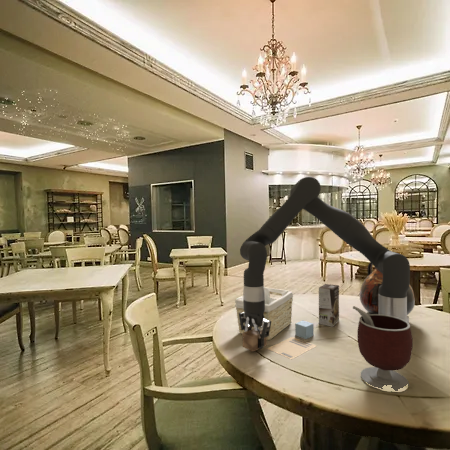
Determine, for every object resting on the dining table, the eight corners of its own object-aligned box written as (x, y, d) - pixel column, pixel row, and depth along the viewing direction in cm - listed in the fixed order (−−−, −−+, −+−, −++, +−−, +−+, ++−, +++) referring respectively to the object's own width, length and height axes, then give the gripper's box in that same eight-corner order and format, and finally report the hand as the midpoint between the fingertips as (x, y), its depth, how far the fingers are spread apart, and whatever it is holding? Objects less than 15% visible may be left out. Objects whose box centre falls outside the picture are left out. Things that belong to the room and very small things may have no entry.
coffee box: (333, 327, 126) (333, 289, 126) (318, 324, 130) (317, 287, 129) (339, 320, 133) (339, 285, 133) (325, 317, 137) (325, 283, 137)
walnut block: (266, 345, 106) (266, 331, 106) (252, 351, 101) (252, 337, 101) (256, 341, 110) (256, 327, 109) (242, 346, 105) (242, 332, 105)
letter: (317, 346, 109) (317, 345, 109) (291, 359, 99) (291, 359, 99) (292, 336, 117) (292, 336, 117) (266, 348, 107) (266, 348, 107)
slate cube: (313, 336, 118) (313, 323, 118) (306, 339, 114) (306, 326, 114) (302, 332, 122) (302, 320, 121) (295, 335, 118) (295, 323, 118)
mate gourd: (416, 378, 86) (416, 310, 86) (406, 401, 76) (406, 324, 75) (360, 361, 97) (360, 300, 96) (345, 379, 86) (344, 311, 86)
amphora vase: (426, 324, 126) (427, 259, 125) (390, 333, 118) (389, 263, 117) (383, 310, 146) (382, 253, 145) (349, 316, 138) (348, 256, 137)
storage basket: (269, 343, 112) (268, 304, 111) (233, 334, 121) (232, 298, 121) (294, 323, 131) (294, 290, 131) (262, 317, 141) (261, 286, 140)
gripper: (276, 299, 102) (277, 348, 102) (247, 292, 113) (248, 336, 113) (261, 304, 97) (262, 355, 98) (232, 295, 108) (233, 342, 109)
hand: (254, 345), depth 106 cm, fingers closed on walnut block, 5 cm apart
